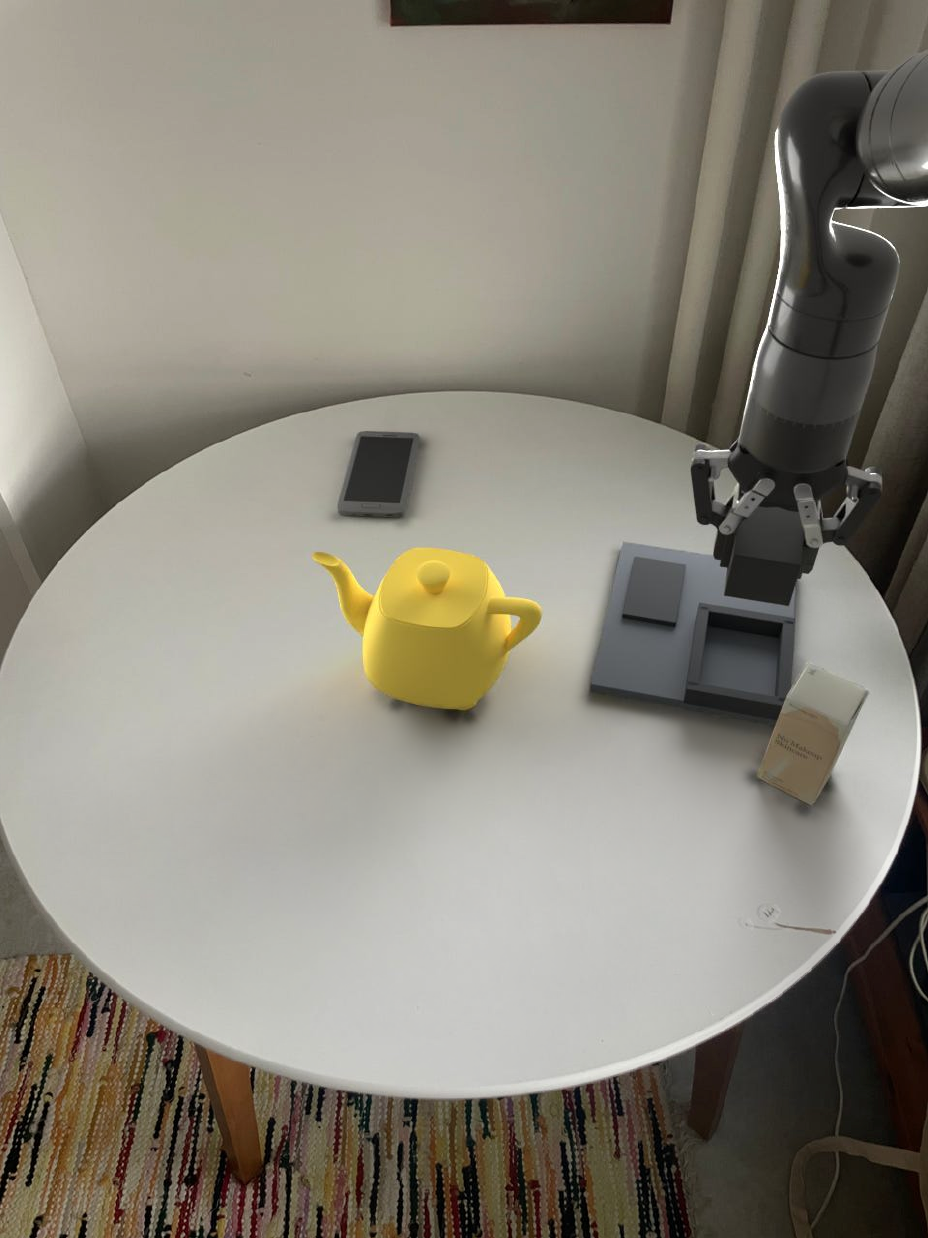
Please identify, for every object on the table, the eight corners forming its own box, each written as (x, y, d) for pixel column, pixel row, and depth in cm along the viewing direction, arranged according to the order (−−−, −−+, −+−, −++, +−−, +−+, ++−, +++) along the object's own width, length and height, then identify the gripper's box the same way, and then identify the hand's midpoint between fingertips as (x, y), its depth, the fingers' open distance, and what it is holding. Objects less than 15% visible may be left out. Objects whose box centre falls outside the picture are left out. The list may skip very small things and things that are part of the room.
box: (754, 777, 85) (781, 693, 77) (776, 742, 87) (805, 657, 79) (815, 809, 83) (849, 726, 75) (836, 772, 85) (871, 687, 77)
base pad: (794, 575, 101) (801, 553, 98) (784, 729, 88) (792, 708, 86) (622, 548, 104) (624, 526, 102) (588, 693, 91) (591, 671, 89)
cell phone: (336, 515, 108) (335, 510, 108) (357, 435, 118) (357, 429, 117) (405, 518, 108) (404, 513, 107) (421, 437, 117) (420, 431, 117)
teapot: (352, 597, 100) (337, 499, 91) (553, 631, 96) (558, 534, 87) (303, 702, 92) (281, 606, 82) (522, 745, 88) (524, 649, 79)
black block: (792, 546, 84) (804, 504, 81) (788, 606, 80) (801, 565, 77) (730, 536, 85) (740, 495, 82) (723, 595, 81) (733, 554, 77)
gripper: (695, 406, 69) (664, 584, 81) (920, 434, 66) (853, 614, 78) (706, 344, 73) (675, 521, 86) (916, 369, 71) (853, 548, 83)
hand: (760, 565), depth 82 cm, fingers closed on black block, 5 cm apart
